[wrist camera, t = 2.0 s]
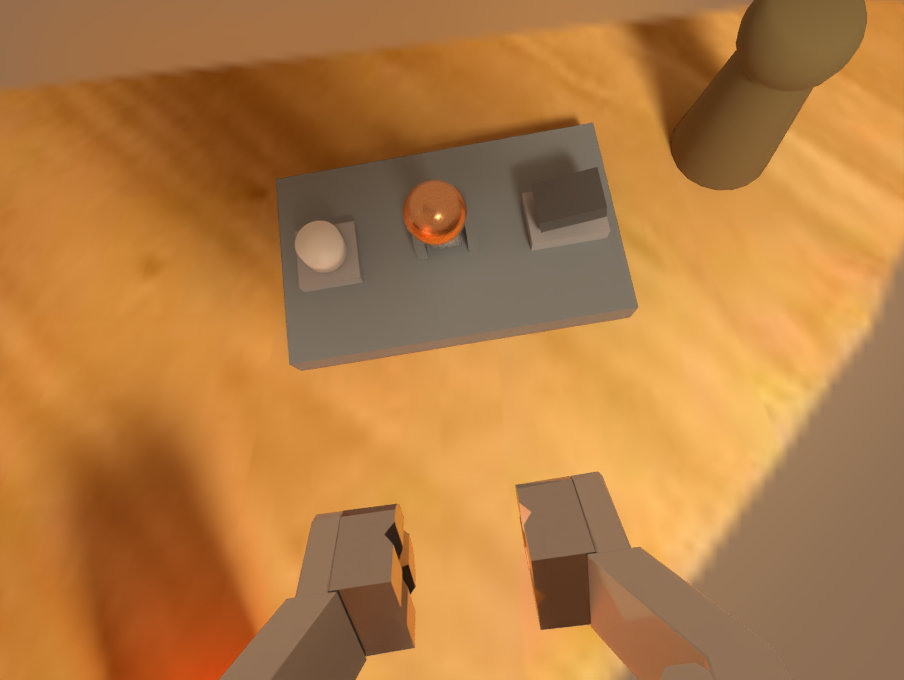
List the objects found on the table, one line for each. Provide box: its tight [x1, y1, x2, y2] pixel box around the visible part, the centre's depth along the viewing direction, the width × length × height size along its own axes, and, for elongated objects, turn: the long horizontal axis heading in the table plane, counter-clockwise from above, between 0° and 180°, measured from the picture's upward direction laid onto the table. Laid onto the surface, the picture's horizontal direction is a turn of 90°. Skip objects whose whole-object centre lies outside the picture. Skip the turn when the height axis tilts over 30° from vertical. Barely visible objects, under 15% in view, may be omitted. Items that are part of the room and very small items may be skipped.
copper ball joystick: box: [403, 180, 467, 250], centre depth 26 cm, size 2×2×13 cm
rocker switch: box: [531, 167, 607, 233], centre depth 30 cm, size 4×2×1 cm, turn 99°
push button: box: [295, 221, 347, 273], centre depth 31 cm, size 3×3×1 cm
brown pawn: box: [671, 0, 867, 190], centre depth 29 cm, size 6×6×11 cm
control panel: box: [276, 123, 638, 371], centre depth 32 cm, size 20×12×4 cm, turn 99°
